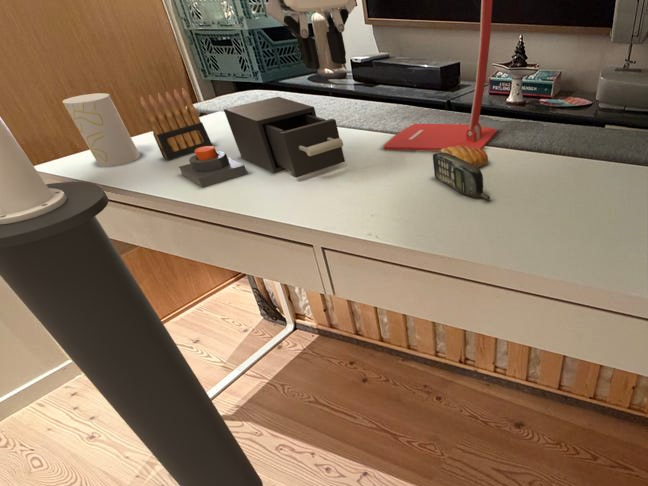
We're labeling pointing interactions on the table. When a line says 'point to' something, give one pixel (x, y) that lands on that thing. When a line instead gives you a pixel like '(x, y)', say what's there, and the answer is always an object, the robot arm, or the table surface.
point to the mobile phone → (459, 174)
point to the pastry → (468, 154)
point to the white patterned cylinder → (102, 128)
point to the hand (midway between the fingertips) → (326, 64)
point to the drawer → (304, 143)
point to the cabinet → (261, 127)
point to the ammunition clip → (176, 126)
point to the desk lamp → (455, 133)
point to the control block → (212, 169)
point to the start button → (206, 153)
